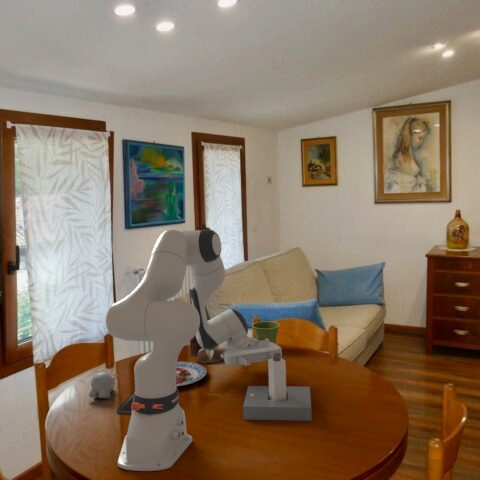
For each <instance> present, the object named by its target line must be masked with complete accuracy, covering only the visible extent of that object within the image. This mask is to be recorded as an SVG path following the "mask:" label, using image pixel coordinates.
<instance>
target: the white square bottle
mask: <svg viewBox="0 0 480 480" xmlns="http://www.w3.org/2000/svg"><path fill="white" fill-rule="evenodd" d="M267 363H268V369H267V370H268V386H269V400H286V386H287V368H286V360H285V359H283V358H282V357H281V353H278V352H275V353H273V358H271V359H268V360H267Z"/></svg>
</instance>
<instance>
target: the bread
mask: <svg viewBox="0 0 480 480" xmlns="http://www.w3.org/2000/svg"><path fill="white" fill-rule="evenodd" d="M223 352H224V351H223V349H222V348H219V347H216V348H215V349H213V350H207V349H203V348H202V349H200V350H199V352H198V354H197V355H196V359H197V361H198V362H199V364H204V365H205V364H215V363H220V362H221V361H224V358H221V357H220V354H223Z"/></svg>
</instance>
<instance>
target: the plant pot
mask: <svg viewBox="0 0 480 480" xmlns="http://www.w3.org/2000/svg"><path fill="white" fill-rule="evenodd" d="M280 326H281V325H280V323H278V322H275V321H265V320H264V321H257V322H254V323H252V324H251V327H252V328H253V331H254V332H253V333H254V336H255V337H254V338H257V339H258V338H259V339H269V342H272V343H275V344H276V345H277V336H278V332H279V328H280Z"/></svg>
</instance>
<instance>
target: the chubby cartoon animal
mask: <svg viewBox="0 0 480 480" xmlns="http://www.w3.org/2000/svg"><path fill="white" fill-rule="evenodd" d="M115 379H116V376H113V377H112V375H111V374H110V373H108V372H106V371H101V372H98V373H95V374H94V376H93V377H92V379H91V381H90V386H91V388H90V391H89V392H88V397H90V398H93V399H96V398H97V399H110V397H111V392H113V391H114V390H115V386H116V381H115Z"/></svg>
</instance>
